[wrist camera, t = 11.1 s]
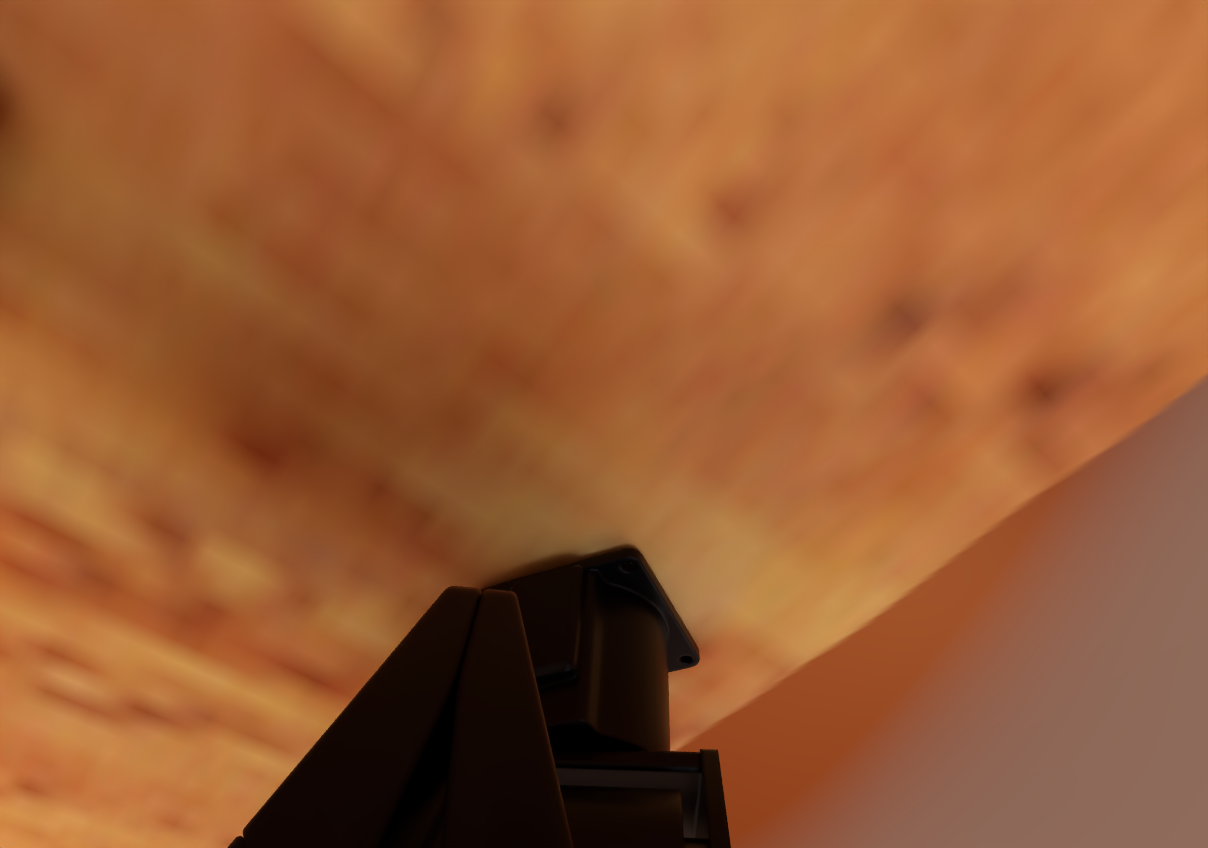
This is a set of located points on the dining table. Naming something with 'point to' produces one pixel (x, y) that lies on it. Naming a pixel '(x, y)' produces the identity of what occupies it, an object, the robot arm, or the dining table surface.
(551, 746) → the robot arm
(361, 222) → the dining table surface
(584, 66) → the dining table surface
